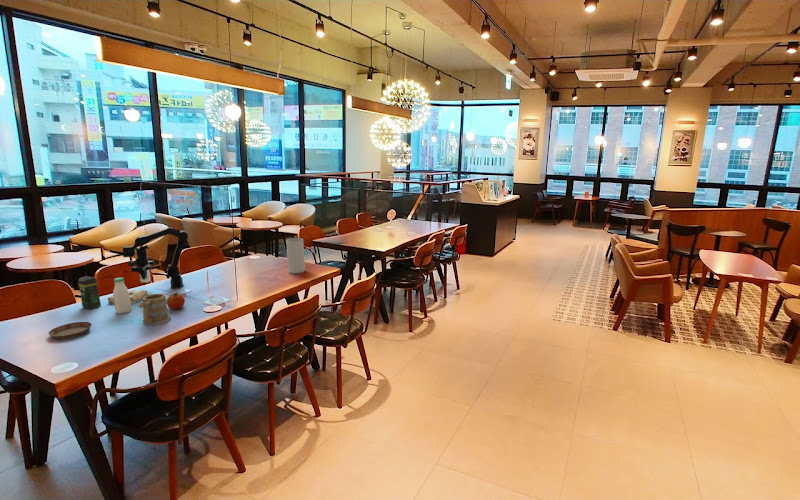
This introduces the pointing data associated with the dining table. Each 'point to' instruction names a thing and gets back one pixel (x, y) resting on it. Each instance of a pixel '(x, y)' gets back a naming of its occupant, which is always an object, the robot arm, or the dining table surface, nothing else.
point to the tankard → (155, 309)
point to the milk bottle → (121, 297)
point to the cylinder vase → (295, 255)
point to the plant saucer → (70, 330)
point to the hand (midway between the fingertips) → (145, 278)
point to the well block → (132, 296)
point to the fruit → (175, 301)
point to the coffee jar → (89, 292)
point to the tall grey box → (147, 278)
